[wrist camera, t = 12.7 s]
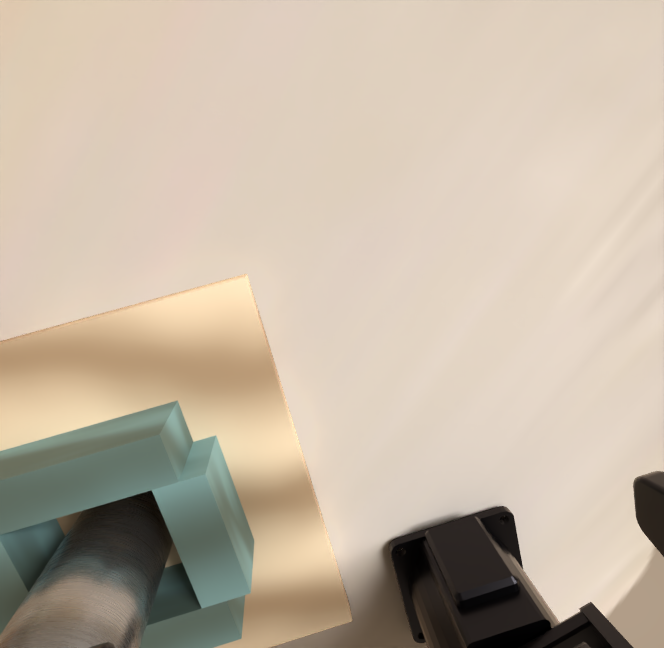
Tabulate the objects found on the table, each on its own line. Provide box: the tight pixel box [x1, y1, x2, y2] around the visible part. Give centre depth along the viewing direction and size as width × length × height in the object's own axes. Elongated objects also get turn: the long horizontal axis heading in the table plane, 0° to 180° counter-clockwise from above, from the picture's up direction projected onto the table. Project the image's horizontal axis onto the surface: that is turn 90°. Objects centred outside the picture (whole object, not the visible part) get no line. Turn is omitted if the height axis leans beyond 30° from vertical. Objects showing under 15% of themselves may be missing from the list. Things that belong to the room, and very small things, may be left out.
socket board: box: [0, 274, 352, 648], centre depth 19 cm, size 18×16×4 cm
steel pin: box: [0, 490, 173, 648], centre depth 15 cm, size 4×4×10 cm
